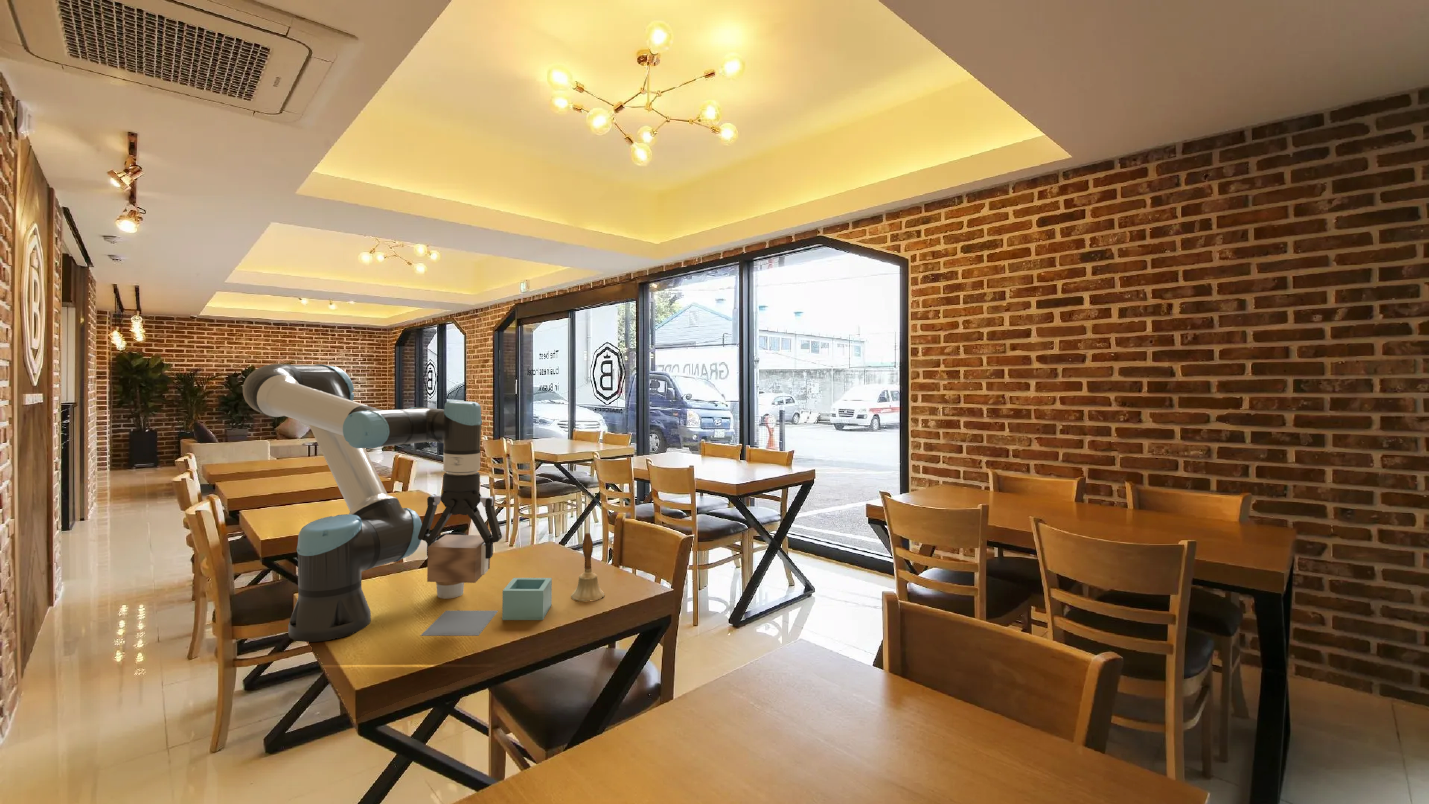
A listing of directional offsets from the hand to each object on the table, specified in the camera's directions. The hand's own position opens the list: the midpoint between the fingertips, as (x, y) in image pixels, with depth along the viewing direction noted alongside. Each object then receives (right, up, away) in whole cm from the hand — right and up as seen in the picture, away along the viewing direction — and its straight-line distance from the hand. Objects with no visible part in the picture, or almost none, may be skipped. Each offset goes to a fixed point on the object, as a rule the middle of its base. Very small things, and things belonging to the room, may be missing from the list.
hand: (459, 572), depth 138 cm
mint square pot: (+13, -12, +7) cm, 19 cm away
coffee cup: (-10, -11, +18) cm, 23 cm away
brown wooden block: (0, -1, 0) cm, 1 cm away
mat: (0, -12, 0) cm, 12 cm away
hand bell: (+24, -12, +19) cm, 33 cm away
